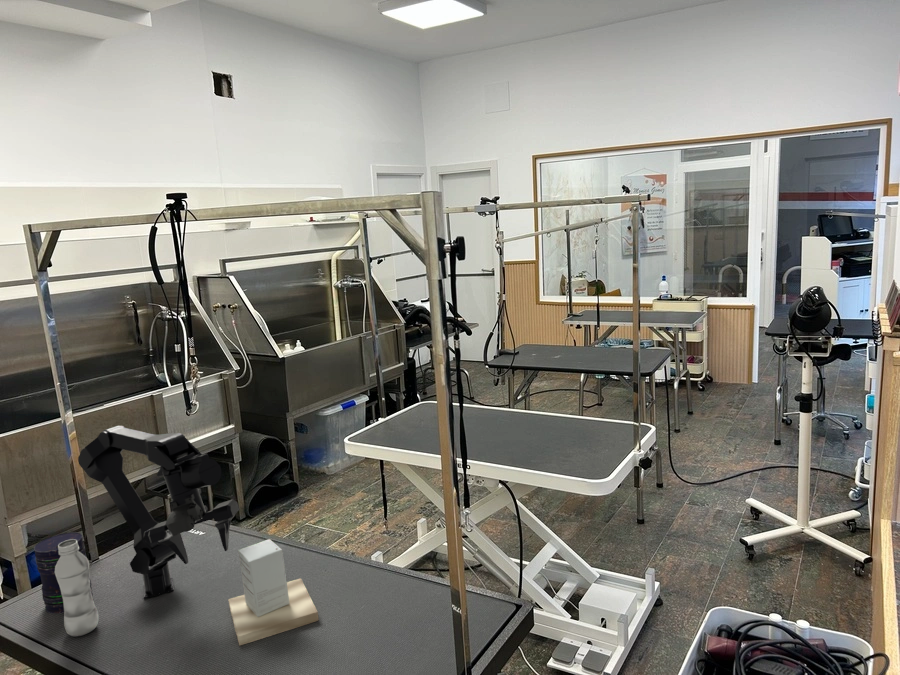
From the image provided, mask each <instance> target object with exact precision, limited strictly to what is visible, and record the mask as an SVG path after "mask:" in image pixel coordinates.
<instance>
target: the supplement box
mask: <svg viewBox="0 0 900 675" xmlns="http://www.w3.org/2000/svg"><path fill="white" fill-rule="evenodd" d="M237 553H238V558H239V566H240V572H241V580H242V586H243V595H245V602H246V604H247V605H248V607H249V608H250V609H251V610H252V611H253V612H254V614H255V615H256V616H257V617H260V616H262V615H264V614H266V613H269V612H271V611H273V610H276V609H278V608H281V607H283V606H285V605H288V604H290V603H289V596H288V588H287V582H288V581H287V576H286V575H287V574H286V567H285V566H286V565H285V560H284V553H283V549H282V548H280V546H278V545H277V544H276V543H275V542H274V541H272V540H271V539H270V538H268V539H266V540H263V541H260V542H258V543H255V544H252V545H248V546H246V547H243V548H240V549H238V550H237Z"/></svg>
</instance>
